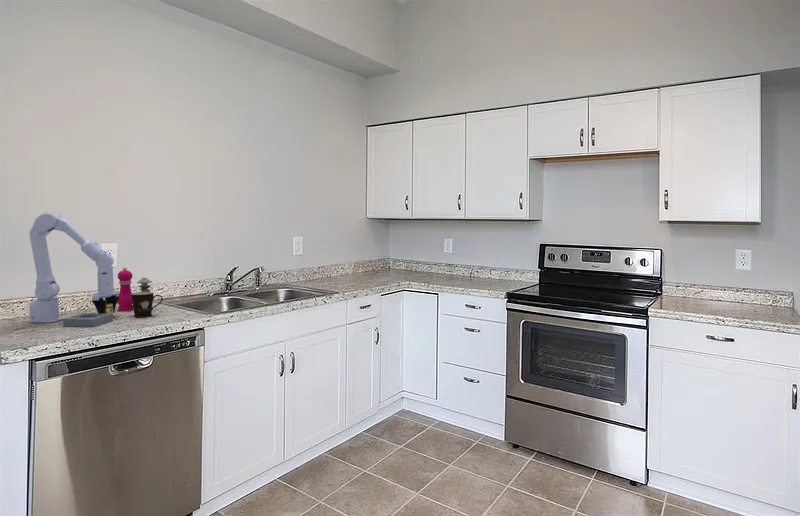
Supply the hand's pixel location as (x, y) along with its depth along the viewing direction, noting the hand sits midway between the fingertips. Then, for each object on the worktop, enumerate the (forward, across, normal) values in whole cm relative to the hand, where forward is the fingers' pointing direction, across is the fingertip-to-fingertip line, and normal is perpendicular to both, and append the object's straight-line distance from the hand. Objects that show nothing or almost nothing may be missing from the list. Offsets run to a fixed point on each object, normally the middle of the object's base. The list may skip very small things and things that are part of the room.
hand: (106, 314), depth 206 cm
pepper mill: (+2, +19, +3) cm, 19 cm away
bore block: (+1, -12, 0) cm, 12 cm away
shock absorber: (+2, +19, -6) cm, 20 cm away
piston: (+2, 0, 0) cm, 2 cm away
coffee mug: (+2, +6, -14) cm, 15 cm away
